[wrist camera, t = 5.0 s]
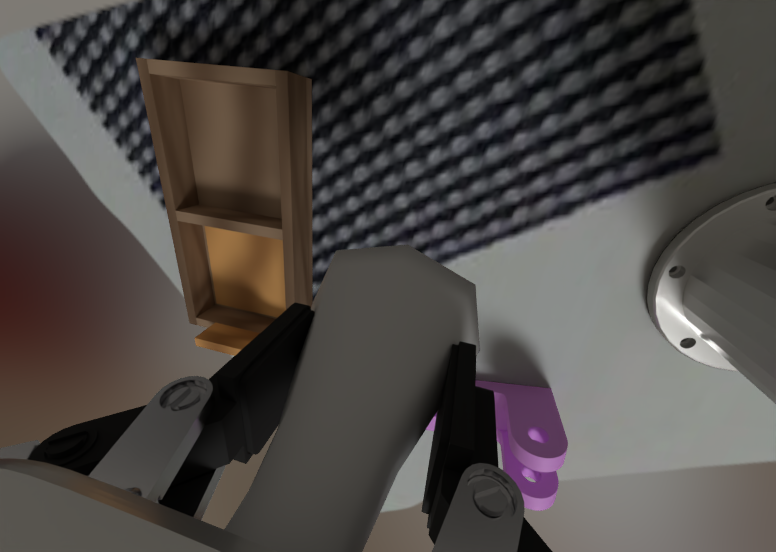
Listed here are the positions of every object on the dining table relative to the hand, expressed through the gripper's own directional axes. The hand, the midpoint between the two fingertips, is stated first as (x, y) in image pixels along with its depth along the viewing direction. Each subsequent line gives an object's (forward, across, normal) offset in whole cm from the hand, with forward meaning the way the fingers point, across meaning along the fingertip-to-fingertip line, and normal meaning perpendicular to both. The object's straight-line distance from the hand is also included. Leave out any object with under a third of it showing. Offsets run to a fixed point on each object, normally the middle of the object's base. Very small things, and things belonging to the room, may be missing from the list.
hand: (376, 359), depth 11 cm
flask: (+3, 0, 0) cm, 3 cm away
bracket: (+15, -6, +15) cm, 22 cm away
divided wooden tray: (+14, +15, 0) cm, 21 cm away
